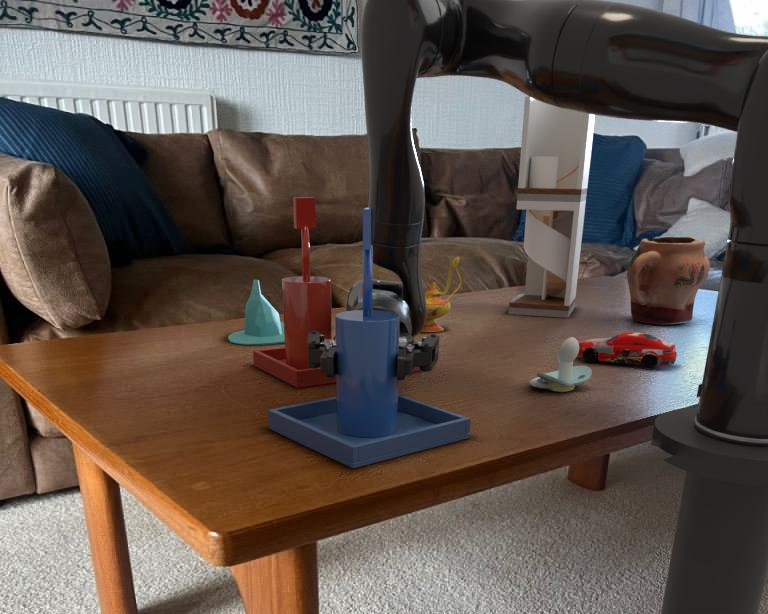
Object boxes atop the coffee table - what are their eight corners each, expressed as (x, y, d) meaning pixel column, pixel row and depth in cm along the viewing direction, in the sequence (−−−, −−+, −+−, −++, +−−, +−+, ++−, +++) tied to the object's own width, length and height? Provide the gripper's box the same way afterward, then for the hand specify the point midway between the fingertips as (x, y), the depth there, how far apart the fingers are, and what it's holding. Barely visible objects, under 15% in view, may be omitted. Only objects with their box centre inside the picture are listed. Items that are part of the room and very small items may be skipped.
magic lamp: (364, 334, 123) (364, 261, 119) (444, 321, 134) (447, 254, 130) (394, 340, 119) (395, 265, 114) (474, 327, 130) (478, 257, 125)
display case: (518, 304, 152) (534, 101, 138) (574, 308, 149) (596, 101, 135) (508, 313, 142) (524, 96, 128) (567, 317, 139) (591, 95, 125)
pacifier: (517, 387, 95) (555, 397, 90) (521, 335, 92) (559, 342, 88) (559, 379, 99) (596, 388, 94) (563, 329, 96) (602, 335, 92)
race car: (571, 361, 107) (574, 332, 106) (580, 354, 112) (583, 325, 110) (671, 372, 102) (676, 341, 100) (676, 363, 106) (681, 334, 105)
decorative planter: (665, 335, 125) (679, 244, 119) (596, 325, 132) (607, 238, 127) (715, 320, 138) (729, 237, 133) (650, 311, 146) (661, 232, 140)
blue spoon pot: (340, 418, 80) (338, 206, 72) (398, 420, 80) (403, 207, 71) (333, 436, 75) (329, 209, 66) (395, 438, 74) (400, 210, 66)
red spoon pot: (319, 360, 104) (315, 196, 96) (340, 370, 99) (338, 198, 91) (277, 365, 101) (270, 196, 93) (298, 375, 96) (292, 198, 88)
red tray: (371, 351, 112) (371, 337, 111) (423, 370, 102) (424, 355, 101) (253, 365, 103) (252, 350, 102) (297, 388, 93) (296, 371, 92)
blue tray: (379, 405, 86) (380, 387, 86) (469, 438, 76) (470, 418, 75) (268, 428, 78) (267, 409, 77) (353, 468, 68) (352, 447, 67)
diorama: (346, 327, 128) (346, 273, 125) (270, 349, 112) (267, 287, 109) (287, 319, 134) (285, 267, 130) (206, 339, 118) (202, 280, 115)
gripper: (313, 297, 86) (287, 325, 71) (443, 300, 86) (445, 329, 70) (315, 364, 89) (290, 405, 74) (440, 367, 89) (441, 409, 73)
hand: (365, 368), depth 72 cm, fingers closed on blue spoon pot, 6 cm apart
